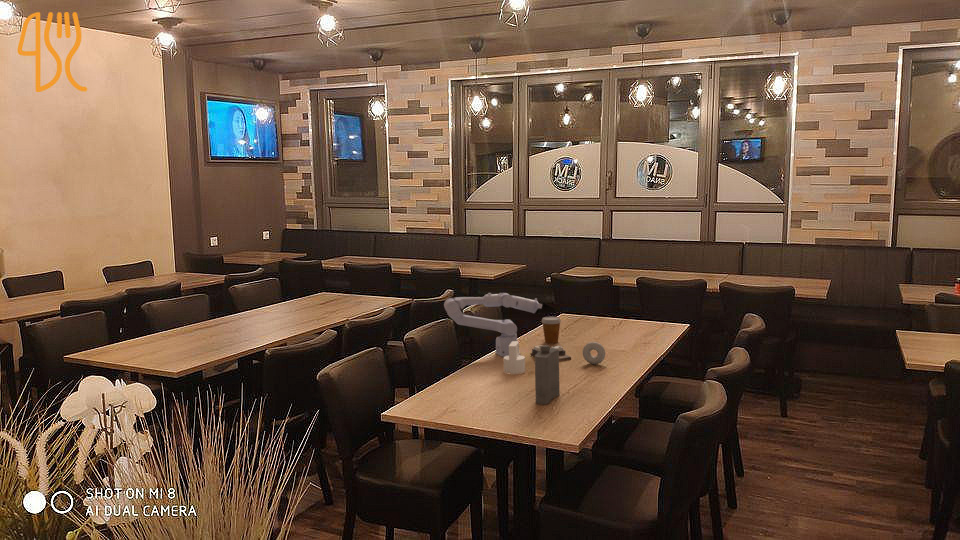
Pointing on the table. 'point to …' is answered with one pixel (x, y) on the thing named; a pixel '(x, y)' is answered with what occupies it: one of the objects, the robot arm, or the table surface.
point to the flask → (546, 374)
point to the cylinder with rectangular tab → (514, 360)
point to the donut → (589, 357)
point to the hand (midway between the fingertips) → (552, 310)
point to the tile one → (537, 348)
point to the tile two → (558, 348)
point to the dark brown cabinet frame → (561, 355)
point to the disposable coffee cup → (551, 329)
